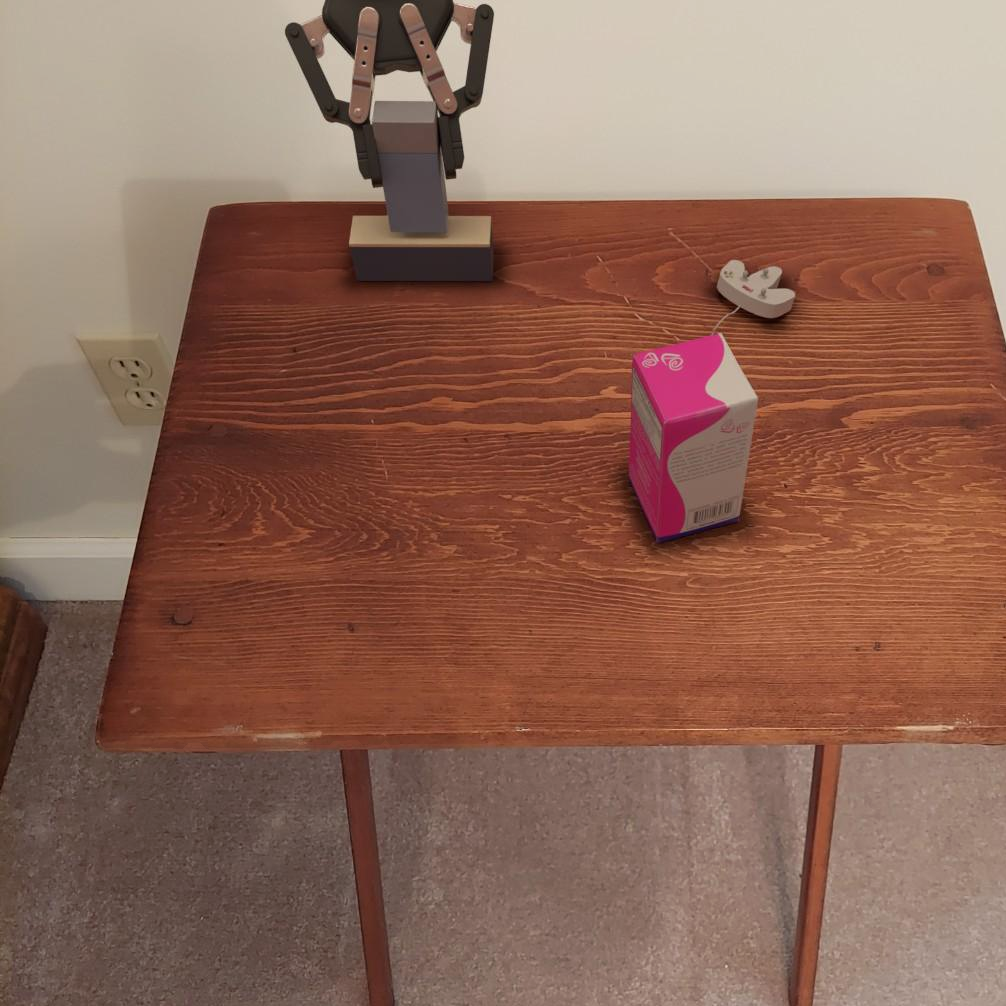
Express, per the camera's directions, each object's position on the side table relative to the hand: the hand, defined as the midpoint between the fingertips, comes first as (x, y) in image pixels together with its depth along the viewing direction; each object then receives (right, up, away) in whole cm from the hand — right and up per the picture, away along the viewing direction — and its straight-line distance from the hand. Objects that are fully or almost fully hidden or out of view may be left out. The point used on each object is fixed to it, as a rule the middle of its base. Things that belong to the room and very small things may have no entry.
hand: (413, 180), depth 79 cm
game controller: (+22, -8, +6) cm, 24 cm away
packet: (0, -1, +5) cm, 5 cm away
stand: (-1, -3, +9) cm, 9 cm away
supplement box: (+18, -22, -2) cm, 28 cm away
